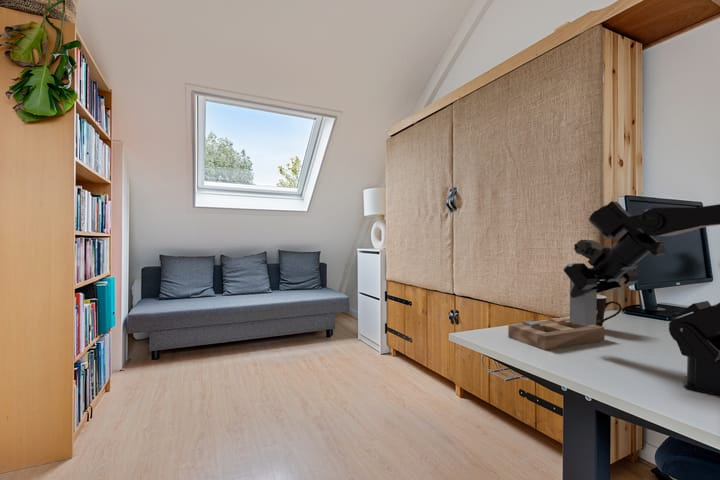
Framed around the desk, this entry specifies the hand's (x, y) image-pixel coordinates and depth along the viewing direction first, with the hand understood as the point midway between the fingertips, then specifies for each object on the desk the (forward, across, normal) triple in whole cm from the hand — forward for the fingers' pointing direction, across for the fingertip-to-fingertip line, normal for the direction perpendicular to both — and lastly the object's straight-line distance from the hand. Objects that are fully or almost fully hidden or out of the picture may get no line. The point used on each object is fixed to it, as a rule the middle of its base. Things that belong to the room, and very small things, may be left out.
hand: (577, 295), depth 90 cm
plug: (+4, 0, +6) cm, 7 cm away
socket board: (+16, -3, +3) cm, 16 cm away
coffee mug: (+17, -22, +2) cm, 28 cm away
